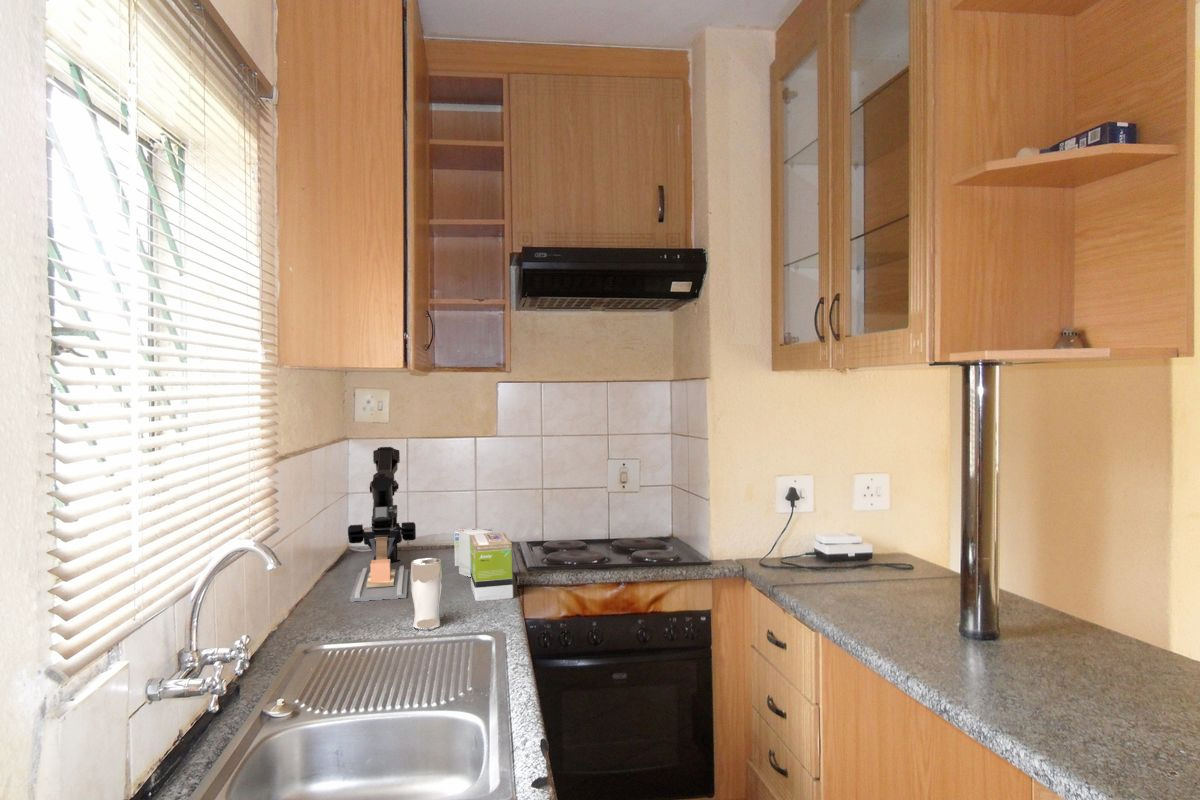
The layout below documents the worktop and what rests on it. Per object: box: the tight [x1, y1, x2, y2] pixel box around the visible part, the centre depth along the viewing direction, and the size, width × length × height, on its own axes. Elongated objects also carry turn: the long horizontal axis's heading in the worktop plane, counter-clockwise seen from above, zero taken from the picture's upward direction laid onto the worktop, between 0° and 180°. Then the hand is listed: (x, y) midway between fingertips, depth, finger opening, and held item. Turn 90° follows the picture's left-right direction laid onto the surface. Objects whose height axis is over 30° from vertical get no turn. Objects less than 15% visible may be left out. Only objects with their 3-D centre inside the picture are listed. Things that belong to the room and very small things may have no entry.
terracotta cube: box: [370, 559, 392, 582], centre depth 213 cm, size 5×5×5 cm
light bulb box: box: [453, 528, 493, 567], centre depth 241 cm, size 11×7×11 cm, turn 84°
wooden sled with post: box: [366, 537, 396, 588], centre depth 217 cm, size 16×7×11 cm, turn 13°
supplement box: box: [458, 528, 493, 578], centre depth 228 cm, size 7×7×13 cm
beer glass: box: [409, 557, 443, 629], centre depth 177 cm, size 7×7×15 cm
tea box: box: [470, 532, 514, 602], centre depth 206 cm, size 15×10×15 cm, turn 14°
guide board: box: [349, 565, 409, 603], centre depth 215 cm, size 30×14×2 cm, turn 13°
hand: (381, 557), depth 219 cm, fingers closed on wooden sled with post, 3 cm apart
